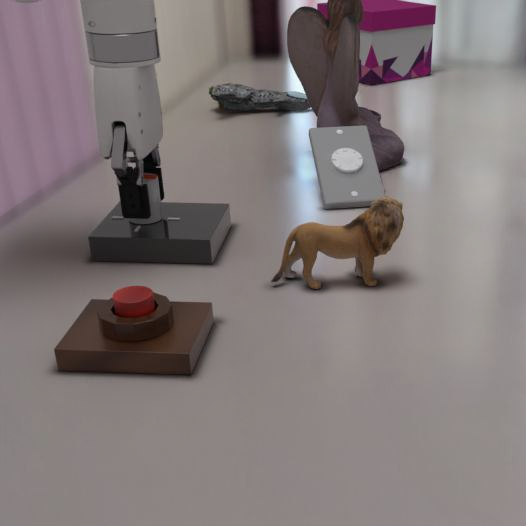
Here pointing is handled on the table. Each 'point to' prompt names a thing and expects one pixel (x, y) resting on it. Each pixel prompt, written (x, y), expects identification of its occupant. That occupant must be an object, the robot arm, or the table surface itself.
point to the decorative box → (394, 40)
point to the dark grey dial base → (163, 235)
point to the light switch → (345, 166)
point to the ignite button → (133, 302)
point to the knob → (151, 200)
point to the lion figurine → (345, 241)
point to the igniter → (136, 338)
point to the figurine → (337, 72)
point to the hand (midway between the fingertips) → (144, 207)
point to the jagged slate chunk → (256, 98)
